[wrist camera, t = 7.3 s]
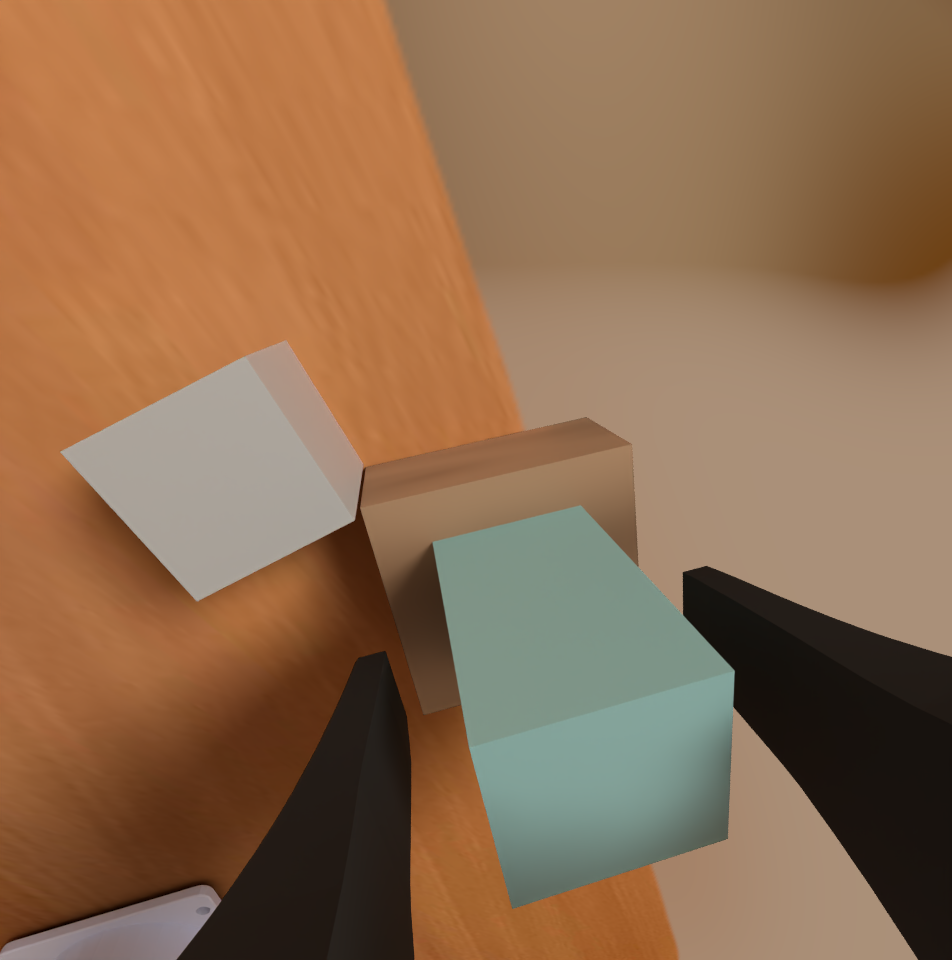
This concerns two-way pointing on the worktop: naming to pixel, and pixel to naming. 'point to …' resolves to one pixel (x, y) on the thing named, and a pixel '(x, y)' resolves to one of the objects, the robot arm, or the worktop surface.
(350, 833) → the robot arm
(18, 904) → the worktop surface
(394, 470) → the brown wooden square block
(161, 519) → the grey block
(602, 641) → the teal block
